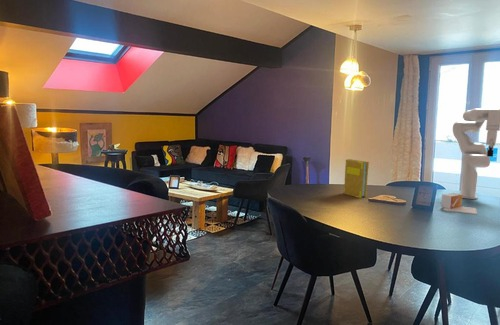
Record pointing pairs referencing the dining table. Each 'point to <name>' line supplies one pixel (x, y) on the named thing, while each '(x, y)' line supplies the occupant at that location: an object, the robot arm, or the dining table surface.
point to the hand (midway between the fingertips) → (489, 156)
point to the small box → (451, 200)
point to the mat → (462, 210)
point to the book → (356, 178)
